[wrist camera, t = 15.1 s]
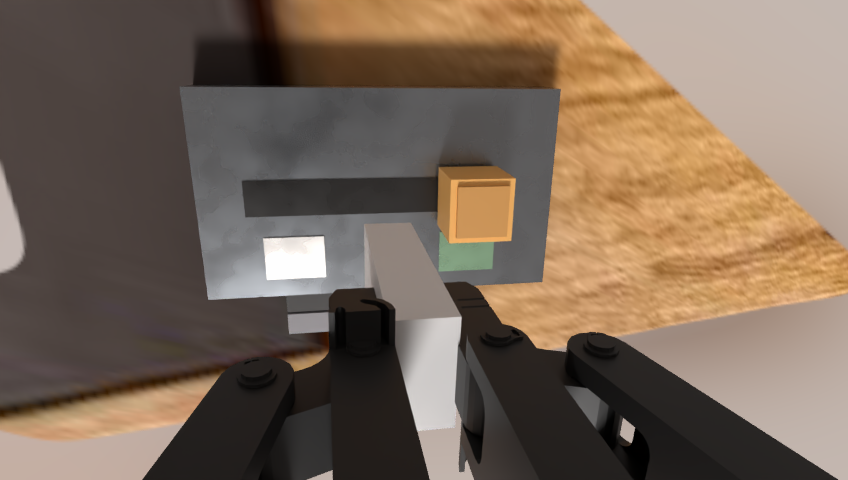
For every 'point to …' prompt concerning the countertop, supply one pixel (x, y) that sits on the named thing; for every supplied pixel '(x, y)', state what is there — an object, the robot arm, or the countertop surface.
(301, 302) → the dark grey bar
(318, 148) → the panel
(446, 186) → the orange block
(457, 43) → the countertop surface
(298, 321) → the light grey bar
